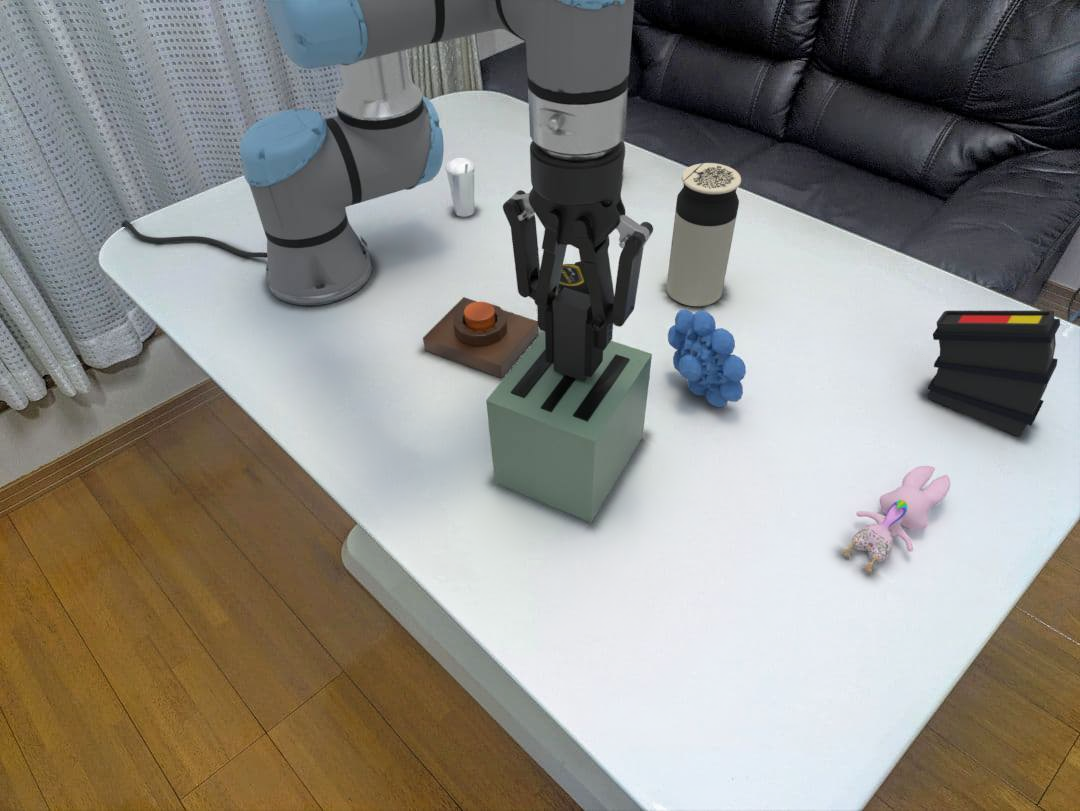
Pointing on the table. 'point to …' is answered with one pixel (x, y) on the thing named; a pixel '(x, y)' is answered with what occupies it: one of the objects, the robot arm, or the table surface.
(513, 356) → the button block
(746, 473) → the table surface
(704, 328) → the grapes
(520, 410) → the toaster
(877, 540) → the rabbit figure
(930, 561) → the table surface
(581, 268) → the tape measure
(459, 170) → the milkshake
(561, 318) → the slider
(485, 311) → the button
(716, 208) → the travel mug
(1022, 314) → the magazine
